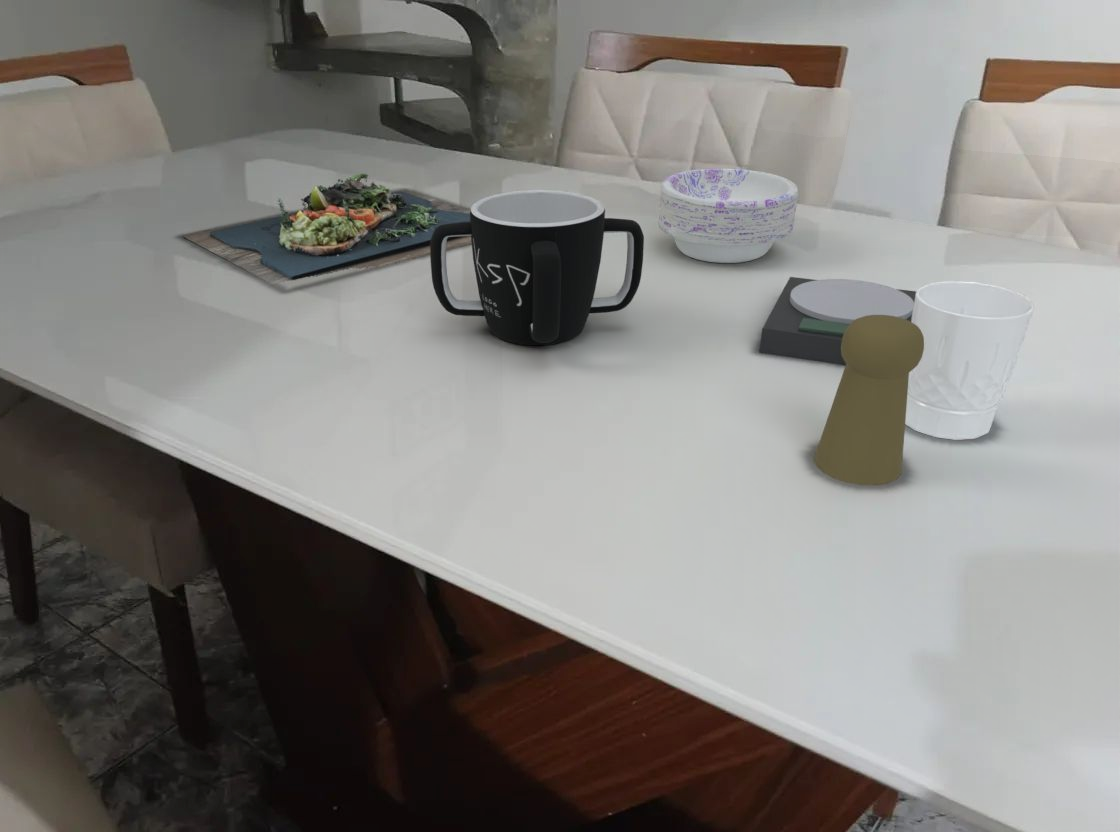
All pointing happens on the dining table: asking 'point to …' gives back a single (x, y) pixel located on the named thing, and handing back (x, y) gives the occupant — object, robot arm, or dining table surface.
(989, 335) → the white cup
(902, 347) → the olive pawn figure
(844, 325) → the kitchen scale
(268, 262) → the plated dish
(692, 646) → the dining table surface
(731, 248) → the paper bowls
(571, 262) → the mug
